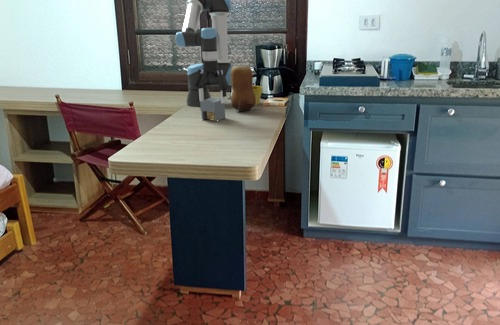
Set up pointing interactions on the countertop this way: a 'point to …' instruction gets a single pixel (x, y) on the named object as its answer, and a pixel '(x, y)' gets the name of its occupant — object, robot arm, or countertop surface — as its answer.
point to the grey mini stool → (213, 108)
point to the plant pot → (257, 93)
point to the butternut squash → (242, 88)
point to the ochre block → (211, 115)
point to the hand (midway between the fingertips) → (212, 102)
